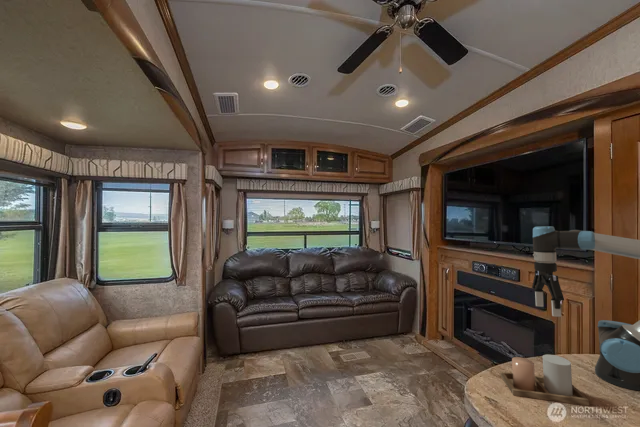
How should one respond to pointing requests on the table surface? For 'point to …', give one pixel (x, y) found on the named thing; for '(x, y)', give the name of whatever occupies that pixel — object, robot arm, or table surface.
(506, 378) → the caddy
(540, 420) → the table surface
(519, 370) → the tan rounded cylinder
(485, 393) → the table surface
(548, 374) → the grey cylinder
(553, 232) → the robot arm
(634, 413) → the table surface
